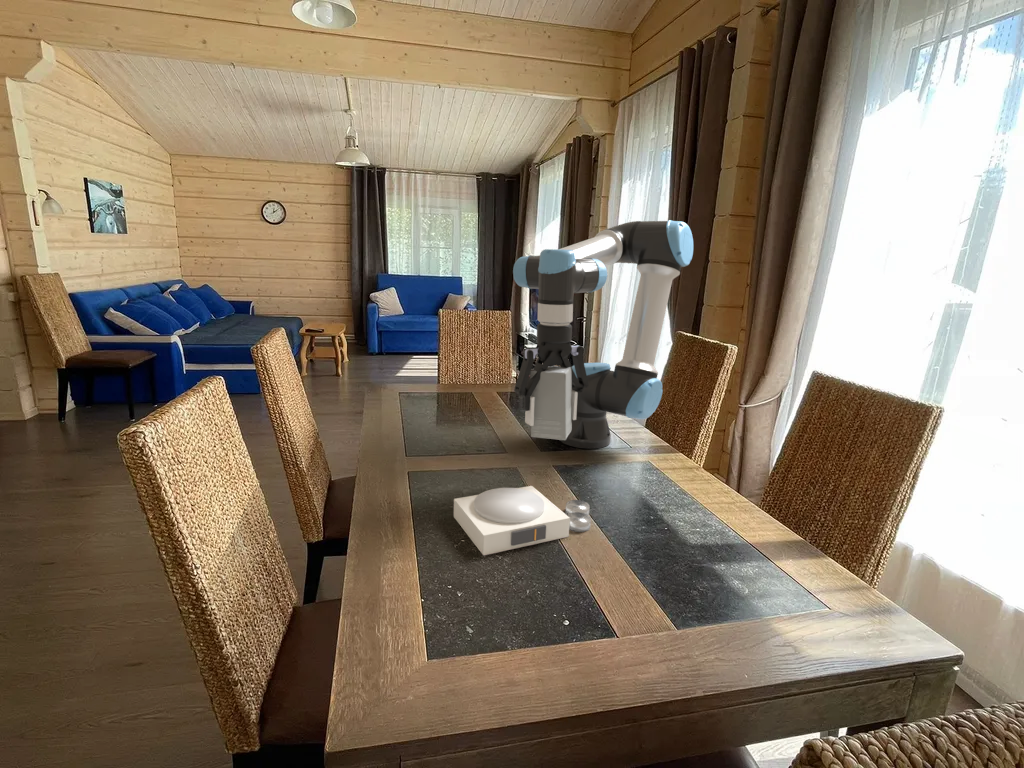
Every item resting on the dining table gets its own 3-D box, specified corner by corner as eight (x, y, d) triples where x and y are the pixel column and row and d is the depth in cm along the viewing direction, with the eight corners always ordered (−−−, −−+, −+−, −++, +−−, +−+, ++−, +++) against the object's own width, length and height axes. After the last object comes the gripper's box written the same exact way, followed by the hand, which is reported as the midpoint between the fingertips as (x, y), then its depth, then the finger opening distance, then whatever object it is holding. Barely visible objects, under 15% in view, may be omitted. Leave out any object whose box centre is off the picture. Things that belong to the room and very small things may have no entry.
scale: (530, 502, 120) (531, 481, 119) (570, 538, 106) (571, 514, 105) (453, 516, 113) (453, 494, 111) (484, 557, 98) (485, 532, 97)
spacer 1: (580, 506, 120) (581, 498, 119) (593, 516, 115) (594, 508, 115) (561, 510, 117) (561, 502, 117) (573, 521, 113) (573, 512, 113)
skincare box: (571, 432, 125) (575, 365, 121) (564, 443, 119) (567, 372, 115) (536, 428, 128) (538, 362, 124) (527, 437, 122) (529, 368, 118)
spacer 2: (581, 519, 114) (582, 510, 113) (595, 530, 110) (595, 521, 109) (560, 523, 112) (561, 514, 111) (573, 535, 107) (574, 525, 107)
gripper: (589, 318, 125) (584, 410, 131) (499, 323, 116) (497, 422, 121) (608, 323, 119) (602, 419, 124) (514, 328, 109) (512, 432, 115)
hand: (550, 421), depth 123 cm, fingers closed on skincare box, 10 cm apart
